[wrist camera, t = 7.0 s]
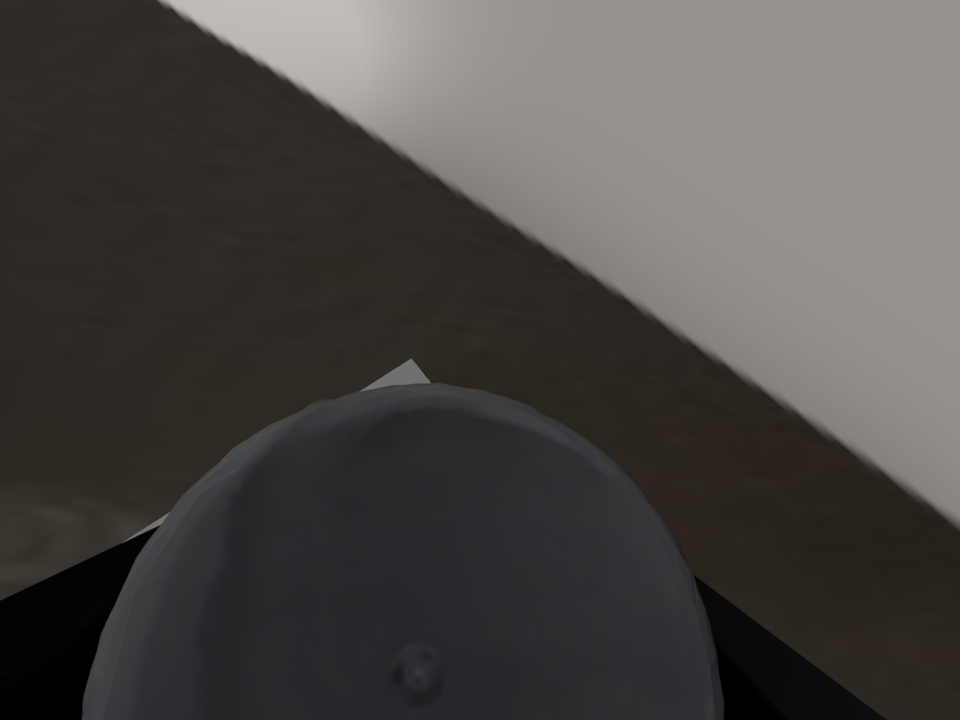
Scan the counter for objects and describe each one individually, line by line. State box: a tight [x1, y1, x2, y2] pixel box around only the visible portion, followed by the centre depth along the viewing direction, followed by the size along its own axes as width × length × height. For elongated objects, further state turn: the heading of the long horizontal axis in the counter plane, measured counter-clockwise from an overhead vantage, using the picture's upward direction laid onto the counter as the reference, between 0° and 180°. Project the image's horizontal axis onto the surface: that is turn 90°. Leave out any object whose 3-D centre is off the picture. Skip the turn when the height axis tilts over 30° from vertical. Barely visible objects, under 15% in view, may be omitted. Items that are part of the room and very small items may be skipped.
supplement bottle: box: [82, 383, 724, 720], centre depth 9 cm, size 6×6×11 cm
